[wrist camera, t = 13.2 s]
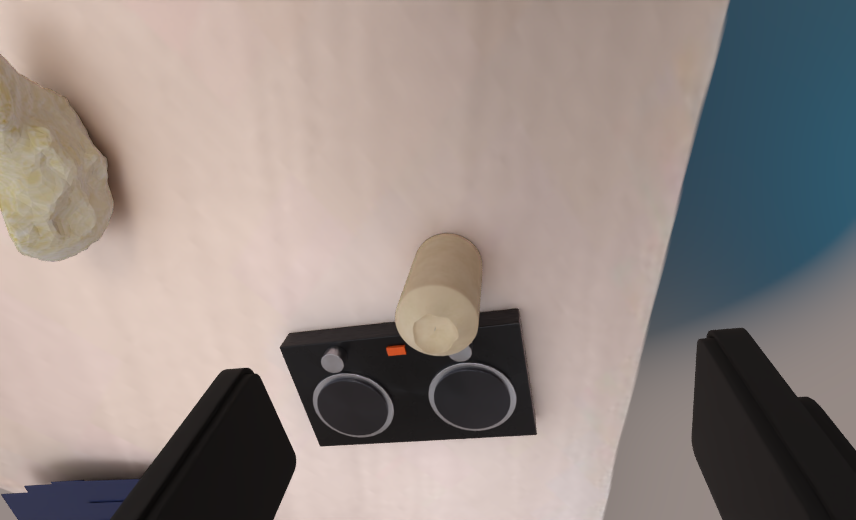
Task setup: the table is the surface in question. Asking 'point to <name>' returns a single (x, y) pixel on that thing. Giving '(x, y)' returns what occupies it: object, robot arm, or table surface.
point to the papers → (70, 500)
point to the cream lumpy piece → (48, 172)
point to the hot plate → (412, 384)
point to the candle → (441, 296)
